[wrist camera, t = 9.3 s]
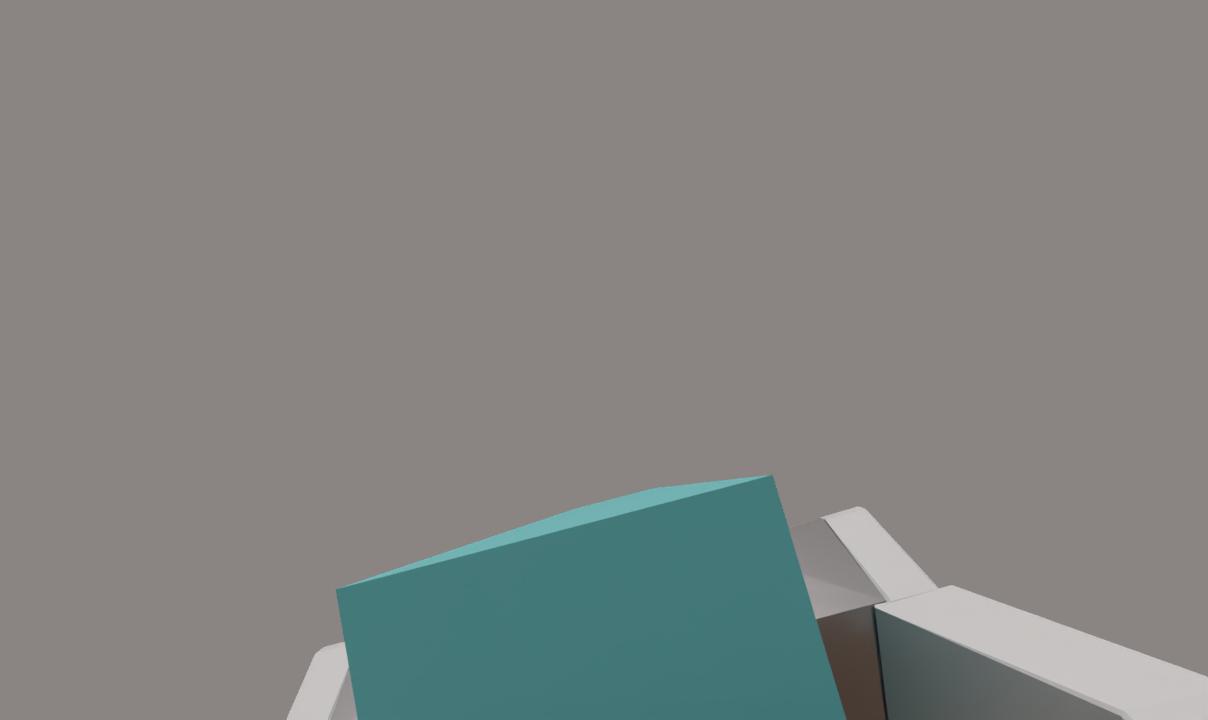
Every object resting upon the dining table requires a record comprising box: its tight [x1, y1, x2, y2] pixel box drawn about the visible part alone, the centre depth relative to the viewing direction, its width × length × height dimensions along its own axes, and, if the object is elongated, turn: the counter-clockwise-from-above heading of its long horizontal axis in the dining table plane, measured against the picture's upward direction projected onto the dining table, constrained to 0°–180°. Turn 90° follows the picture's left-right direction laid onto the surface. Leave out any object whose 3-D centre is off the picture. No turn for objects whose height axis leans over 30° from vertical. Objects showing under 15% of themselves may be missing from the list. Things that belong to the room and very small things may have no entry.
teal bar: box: [336, 475, 846, 720], centre depth 17 cm, size 24×4×4 cm, turn 179°
